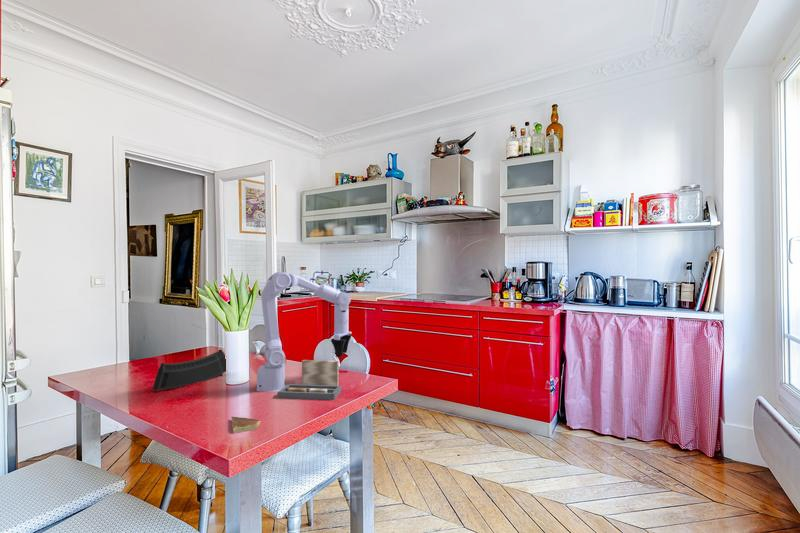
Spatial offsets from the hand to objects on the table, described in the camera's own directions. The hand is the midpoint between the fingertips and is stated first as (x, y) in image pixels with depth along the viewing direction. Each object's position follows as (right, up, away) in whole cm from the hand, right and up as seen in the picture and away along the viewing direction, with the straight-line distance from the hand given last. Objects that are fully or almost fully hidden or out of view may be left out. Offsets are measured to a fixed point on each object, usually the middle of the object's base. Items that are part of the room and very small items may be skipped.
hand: (341, 354), depth 155 cm
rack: (-8, -10, -19) cm, 23 cm away
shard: (-22, -11, -46) cm, 52 cm away
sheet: (-7, -10, -8) cm, 15 cm away
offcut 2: (-5, -10, -22) cm, 24 cm away
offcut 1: (-12, -10, -21) cm, 26 cm away
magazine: (-58, -11, -3) cm, 59 cm away
